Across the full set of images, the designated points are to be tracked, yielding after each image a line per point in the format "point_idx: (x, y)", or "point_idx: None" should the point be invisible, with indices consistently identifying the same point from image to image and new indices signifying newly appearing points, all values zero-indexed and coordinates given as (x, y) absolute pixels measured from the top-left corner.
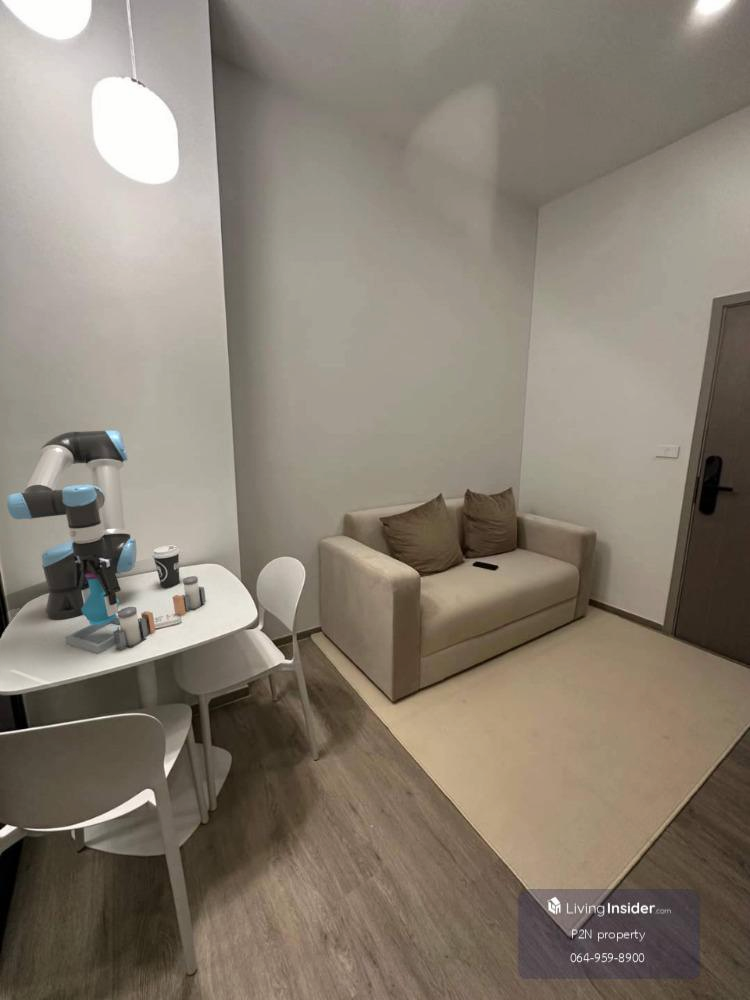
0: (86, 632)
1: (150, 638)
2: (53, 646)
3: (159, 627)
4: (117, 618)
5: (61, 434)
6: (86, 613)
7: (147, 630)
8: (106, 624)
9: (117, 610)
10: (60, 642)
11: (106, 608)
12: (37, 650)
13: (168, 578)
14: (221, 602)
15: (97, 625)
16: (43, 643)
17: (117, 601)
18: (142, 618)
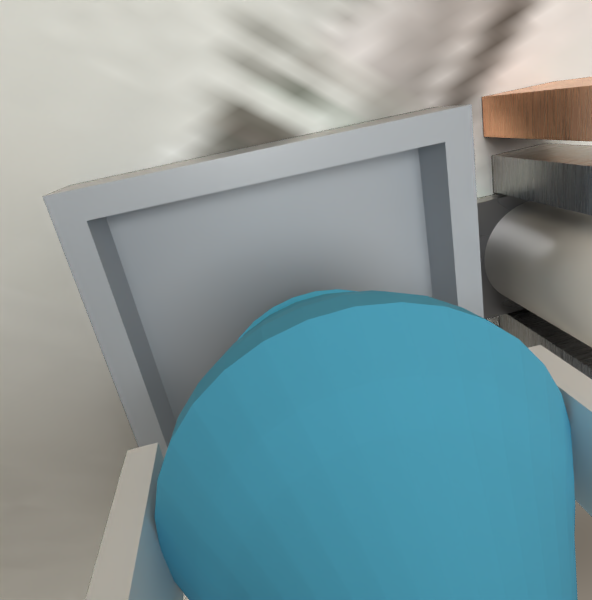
0: (161, 406)
1: (569, 143)
2: (103, 528)
3: (501, 5)
4: (178, 199)
5: None
6: None
7: (586, 145)
8: (116, 259)
9: (558, 363)
10: (81, 496)
11: (580, 501)
12: (77, 584)
13: None
14: None
15: (132, 335)
16: (4, 555)
17: (522, 351)
18: (582, 138)
